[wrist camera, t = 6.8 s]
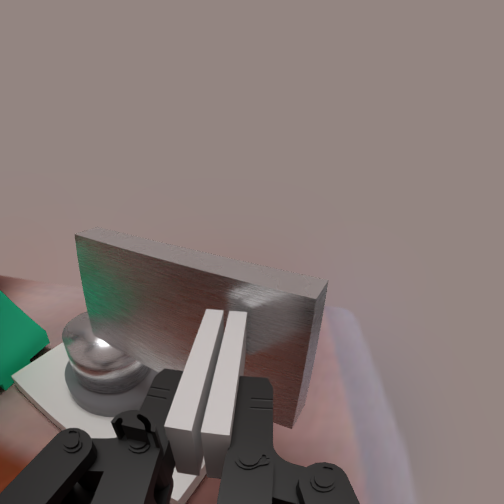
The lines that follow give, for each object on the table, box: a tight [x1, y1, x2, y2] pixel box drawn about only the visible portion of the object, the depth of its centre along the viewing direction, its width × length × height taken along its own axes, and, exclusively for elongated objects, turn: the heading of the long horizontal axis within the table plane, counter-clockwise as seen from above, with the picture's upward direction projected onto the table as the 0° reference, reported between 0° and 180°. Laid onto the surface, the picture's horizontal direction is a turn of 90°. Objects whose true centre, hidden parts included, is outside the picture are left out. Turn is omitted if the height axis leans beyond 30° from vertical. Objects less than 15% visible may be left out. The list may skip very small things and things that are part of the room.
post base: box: [11, 342, 206, 504], centre depth 24 cm, size 20×16×3 cm
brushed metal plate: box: [62, 227, 328, 429], centre depth 18 cm, size 20×7×12 cm, turn 63°
